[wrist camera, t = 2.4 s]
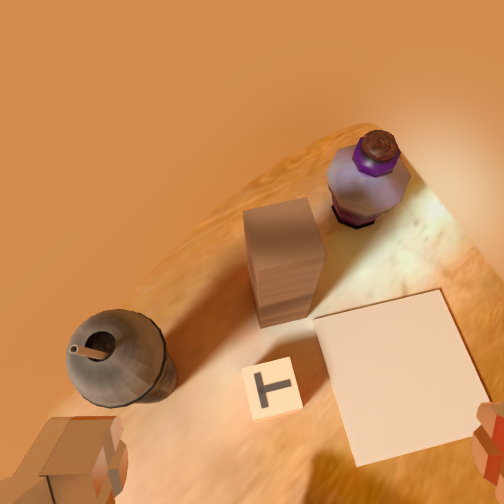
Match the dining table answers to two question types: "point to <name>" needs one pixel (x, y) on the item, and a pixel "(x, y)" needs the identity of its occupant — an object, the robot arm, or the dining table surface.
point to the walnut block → (283, 260)
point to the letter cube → (272, 389)
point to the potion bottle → (367, 179)
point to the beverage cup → (120, 360)
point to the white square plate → (400, 376)
